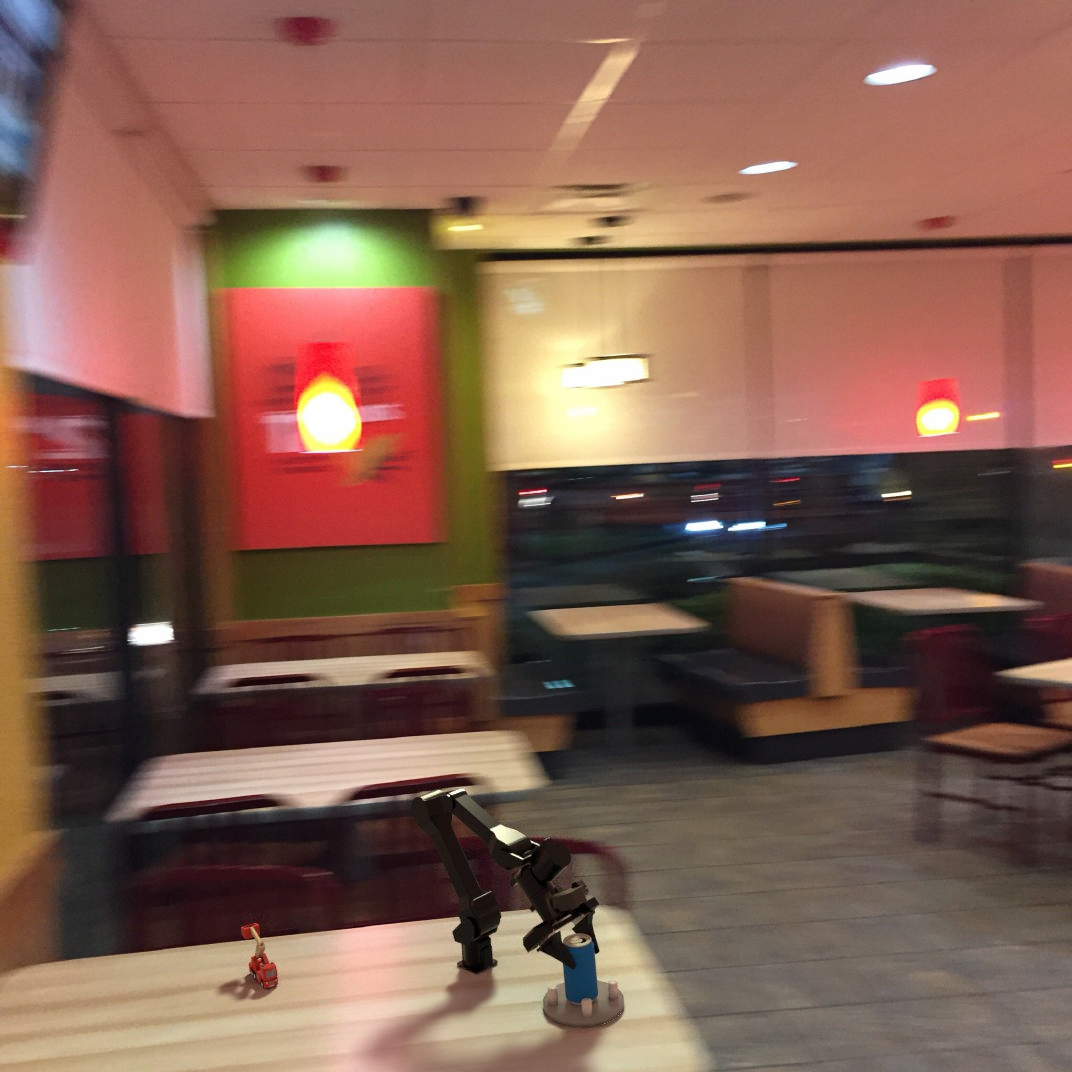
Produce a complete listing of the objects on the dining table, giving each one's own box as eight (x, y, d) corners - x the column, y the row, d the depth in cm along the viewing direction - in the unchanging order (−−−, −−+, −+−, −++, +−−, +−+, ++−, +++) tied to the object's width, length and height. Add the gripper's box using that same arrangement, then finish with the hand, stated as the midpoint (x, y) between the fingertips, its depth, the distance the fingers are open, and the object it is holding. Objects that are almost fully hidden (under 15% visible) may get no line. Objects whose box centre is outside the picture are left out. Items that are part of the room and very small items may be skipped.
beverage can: (602, 1003, 204) (597, 943, 203) (571, 1009, 202) (565, 949, 201) (593, 988, 210) (588, 930, 209) (562, 994, 208) (557, 936, 208)
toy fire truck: (264, 991, 218) (261, 946, 217) (243, 966, 229) (240, 924, 229) (280, 986, 220) (277, 942, 219) (258, 962, 231) (255, 920, 231)
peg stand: (526, 1010, 205) (525, 990, 205) (576, 977, 217) (575, 957, 217) (591, 1036, 195) (590, 1015, 194) (640, 1000, 207) (639, 980, 207)
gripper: (531, 887, 200) (578, 959, 193) (590, 856, 214) (636, 922, 207) (502, 917, 205) (548, 987, 199) (562, 884, 219) (606, 949, 213)
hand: (586, 960), depth 204 cm, fingers open, 7 cm apart
